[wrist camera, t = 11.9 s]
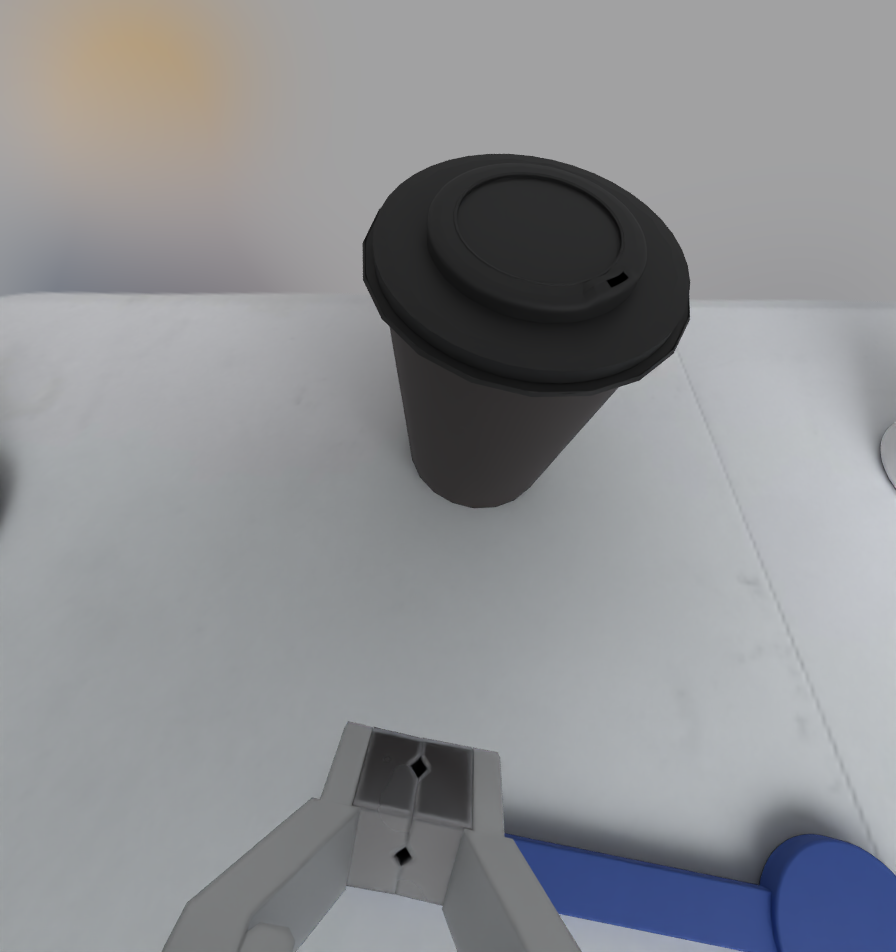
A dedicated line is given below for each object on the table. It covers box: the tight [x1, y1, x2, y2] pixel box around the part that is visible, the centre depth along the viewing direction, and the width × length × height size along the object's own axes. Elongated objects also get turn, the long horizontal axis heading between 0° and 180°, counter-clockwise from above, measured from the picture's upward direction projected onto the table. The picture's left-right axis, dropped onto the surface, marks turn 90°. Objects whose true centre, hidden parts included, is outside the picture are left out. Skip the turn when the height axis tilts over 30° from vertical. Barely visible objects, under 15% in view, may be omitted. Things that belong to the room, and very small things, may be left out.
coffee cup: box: [363, 154, 690, 508], centre depth 15 cm, size 8×8×10 cm
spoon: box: [504, 833, 896, 952], centre depth 13 cm, size 16×4×1 cm, turn 79°
